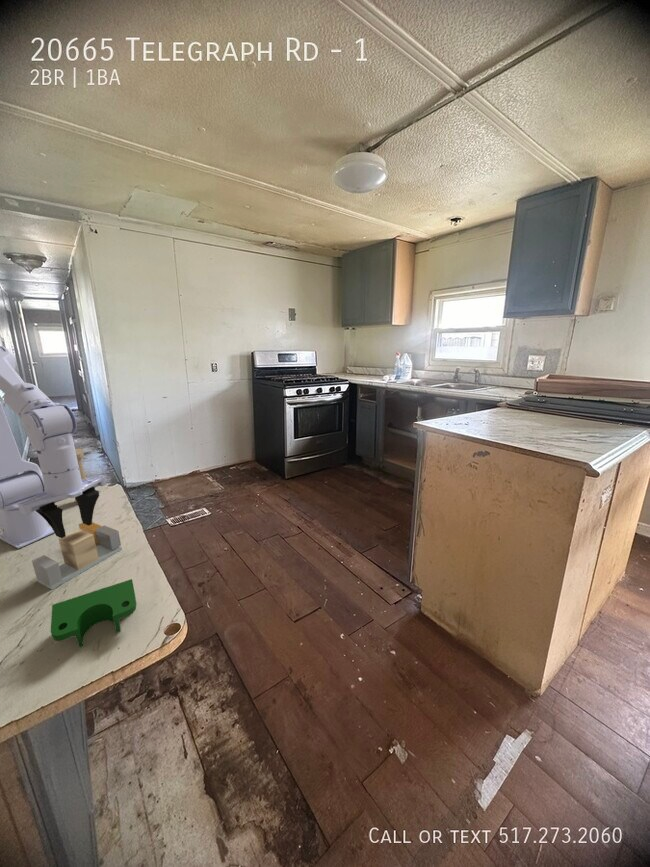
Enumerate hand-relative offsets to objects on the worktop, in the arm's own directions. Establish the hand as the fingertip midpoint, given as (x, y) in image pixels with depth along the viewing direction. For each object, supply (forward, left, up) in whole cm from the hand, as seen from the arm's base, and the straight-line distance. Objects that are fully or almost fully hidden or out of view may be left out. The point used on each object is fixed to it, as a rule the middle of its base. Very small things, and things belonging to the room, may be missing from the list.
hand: (74, 529), depth 69 cm
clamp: (+19, -8, -9) cm, 23 cm away
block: (0, 0, -8) cm, 8 cm away
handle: (-29, +16, -9) cm, 34 cm away
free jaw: (-3, +6, -8) cm, 11 cm away
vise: (0, 0, -8) cm, 8 cm away
